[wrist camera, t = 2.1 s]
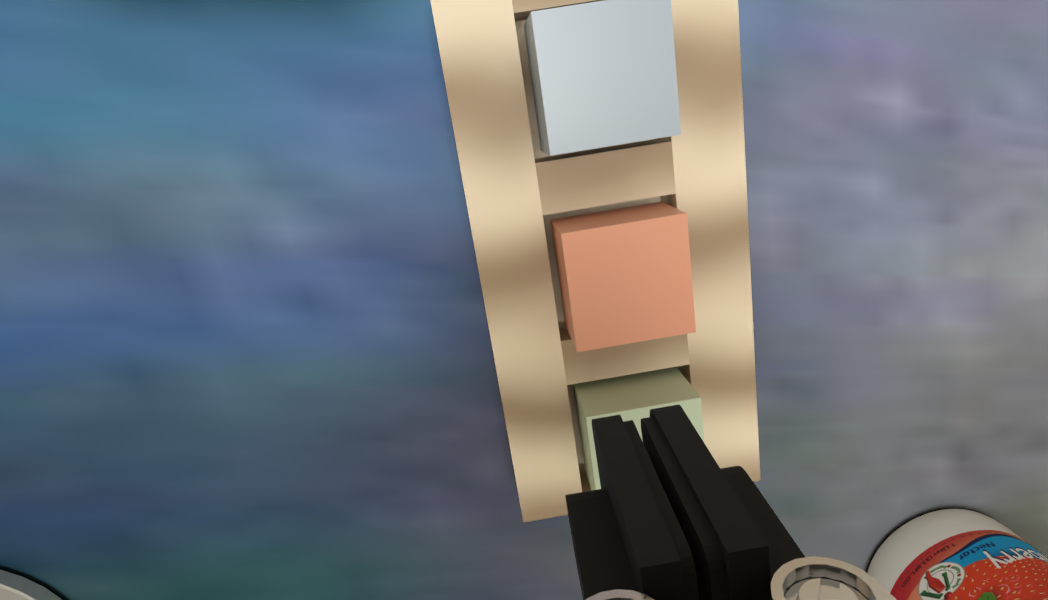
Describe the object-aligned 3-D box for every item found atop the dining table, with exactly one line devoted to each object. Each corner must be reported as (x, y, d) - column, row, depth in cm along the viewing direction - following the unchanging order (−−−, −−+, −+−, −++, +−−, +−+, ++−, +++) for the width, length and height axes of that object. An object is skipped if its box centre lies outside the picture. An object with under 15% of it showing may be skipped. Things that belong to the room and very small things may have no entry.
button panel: (732, 445, 34) (760, 480, 31) (518, 482, 34) (523, 522, 31) (703, -32, 28) (735, -53, 24) (435, 9, 27) (429, -6, 24)
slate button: (655, 132, 27) (681, 134, 23) (541, 150, 27) (550, 155, 23) (644, 6, 25) (670, -10, 22) (523, 25, 25) (530, 11, 22)
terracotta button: (670, 307, 29) (695, 332, 26) (565, 325, 29) (577, 352, 26) (661, 201, 28) (687, 213, 24) (550, 219, 28) (561, 233, 24)
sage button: (683, 456, 31) (708, 497, 28) (586, 473, 31) (599, 516, 28) (675, 366, 30) (700, 397, 27) (573, 383, 30) (586, 417, 27)
